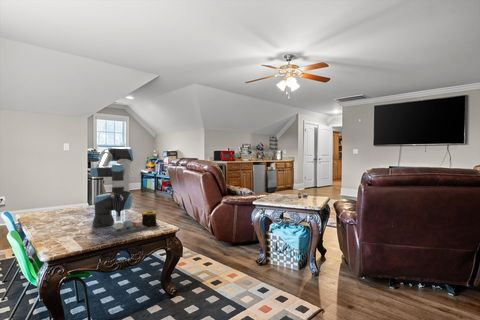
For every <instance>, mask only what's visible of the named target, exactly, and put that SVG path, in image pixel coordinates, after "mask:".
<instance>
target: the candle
mask: <svg viewBox="0 0 480 320" xmlns="http://www.w3.org/2000/svg"><path fill="white" fill-rule="evenodd" d="M141 217H142V220H141V221H142V225H144V226H147V228H151V227H153V228H154V227H156V226H157V210H148V211H147V210H144V211H142V213H141Z"/></svg>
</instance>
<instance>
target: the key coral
mask: <svg viewBox="0 0 480 320" xmlns="http://www.w3.org/2000/svg"><path fill="white" fill-rule="evenodd" d="M132 222H133V226H135V227H138V226H141V225H142V220H135V221H132Z"/></svg>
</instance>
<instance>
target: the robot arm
mask: <svg viewBox="0 0 480 320" xmlns="http://www.w3.org/2000/svg"><path fill="white" fill-rule="evenodd" d="M110 162H116V163H112V165H111V166H109V165H110ZM132 162H134V155H133V149H132V147H128V146H127V147H120V146H119V147H116V146H115V147H114V146H113V147H108V148H106V149H104V150H102V151H101V152H100V153H99V158H98V162H97V163H96V165H95V166H91V167H90V170H89V176H90V177H91V178H111V192H112V193H113V195H112V193H103V194H102V193H101V194H98V195H96V196H95V197H94V216H93V220H92V222H91V223H92V225H91V226H92V227H94V228H105V227H111V226H112V225H113V226H114V224H115V221H116V222H120V221H121V220H122V215H121V214H122V213H121V212H122V211H127V210H130V209H131V207H132V205H133V198H134V197H133V194H132V193H131V191H130V165H131V164H132ZM112 211H115V219H114V217H113V214H112V213H113V212H112Z"/></svg>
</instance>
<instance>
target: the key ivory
mask: <svg viewBox="0 0 480 320" xmlns="http://www.w3.org/2000/svg"><path fill="white" fill-rule="evenodd" d="M123 227H124V226H123V222H116V223H115V222H114V224H113V229H117V231H120V228H123Z"/></svg>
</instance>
